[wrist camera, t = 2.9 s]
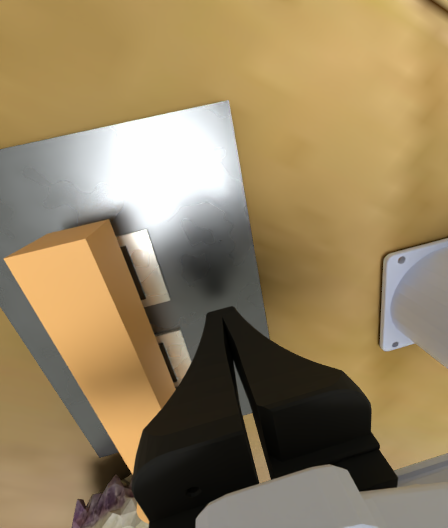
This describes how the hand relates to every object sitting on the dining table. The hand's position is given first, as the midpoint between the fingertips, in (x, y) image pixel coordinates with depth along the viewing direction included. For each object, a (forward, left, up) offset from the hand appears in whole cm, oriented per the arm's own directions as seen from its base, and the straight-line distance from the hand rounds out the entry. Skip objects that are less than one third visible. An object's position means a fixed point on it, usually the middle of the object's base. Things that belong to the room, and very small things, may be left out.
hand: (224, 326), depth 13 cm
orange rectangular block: (+5, +2, -1) cm, 6 cm away
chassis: (+4, 0, -4) cm, 5 cm away
